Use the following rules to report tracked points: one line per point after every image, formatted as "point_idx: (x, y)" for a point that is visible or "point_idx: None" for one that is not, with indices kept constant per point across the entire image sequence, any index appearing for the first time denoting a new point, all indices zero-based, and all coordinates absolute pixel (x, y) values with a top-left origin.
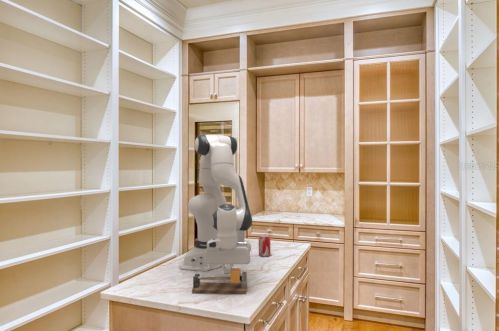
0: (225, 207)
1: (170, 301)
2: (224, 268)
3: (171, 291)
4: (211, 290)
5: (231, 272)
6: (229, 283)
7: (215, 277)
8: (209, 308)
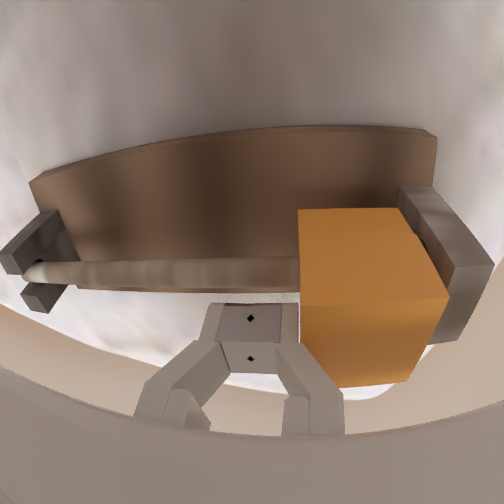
0: None
1: (78, 333)
2: (214, 392)
3: None
4: (173, 290)
5: None
6: (268, 156)
7: (140, 286)
8: (237, 380)
